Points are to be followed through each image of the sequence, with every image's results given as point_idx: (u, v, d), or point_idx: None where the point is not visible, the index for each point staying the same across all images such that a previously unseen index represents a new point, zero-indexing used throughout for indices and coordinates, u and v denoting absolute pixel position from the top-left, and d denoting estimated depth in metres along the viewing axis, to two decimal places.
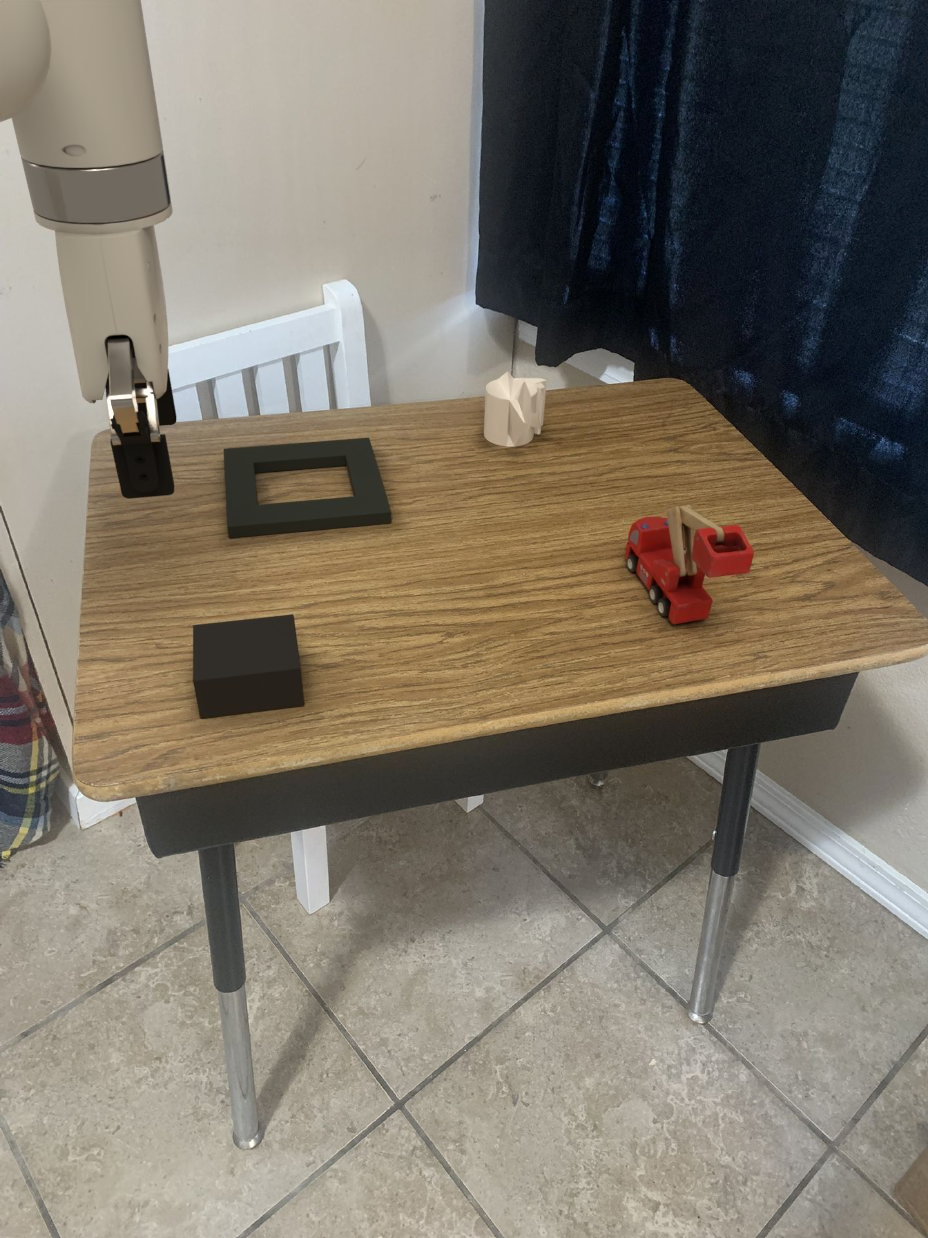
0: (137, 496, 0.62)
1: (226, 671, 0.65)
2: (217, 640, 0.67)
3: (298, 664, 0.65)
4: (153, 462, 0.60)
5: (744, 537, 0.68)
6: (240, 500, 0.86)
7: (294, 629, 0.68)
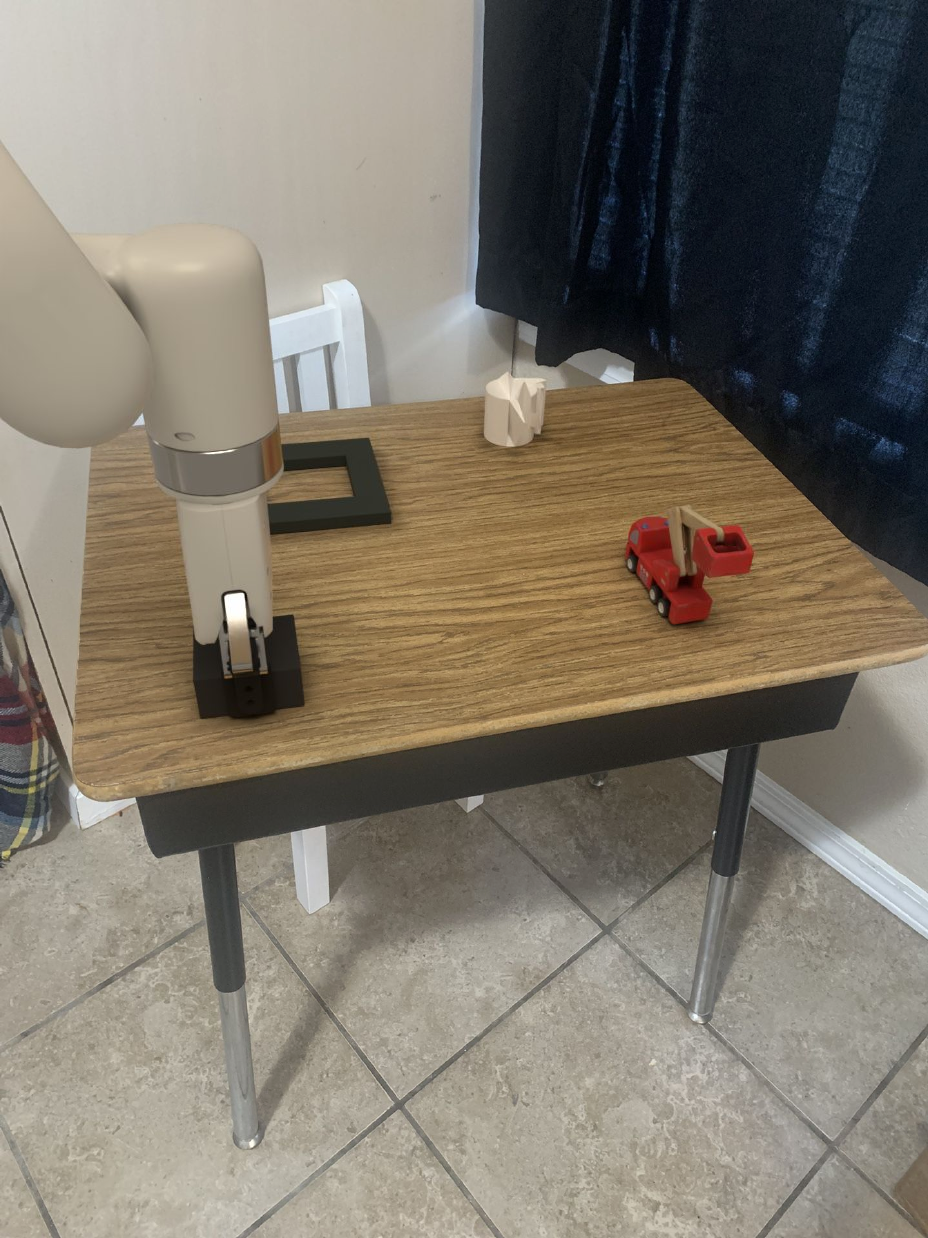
0: (241, 715, 0.66)
1: None
2: (217, 640, 0.67)
3: (298, 664, 0.65)
4: (260, 690, 0.64)
5: (744, 537, 0.68)
6: None
7: (294, 629, 0.68)
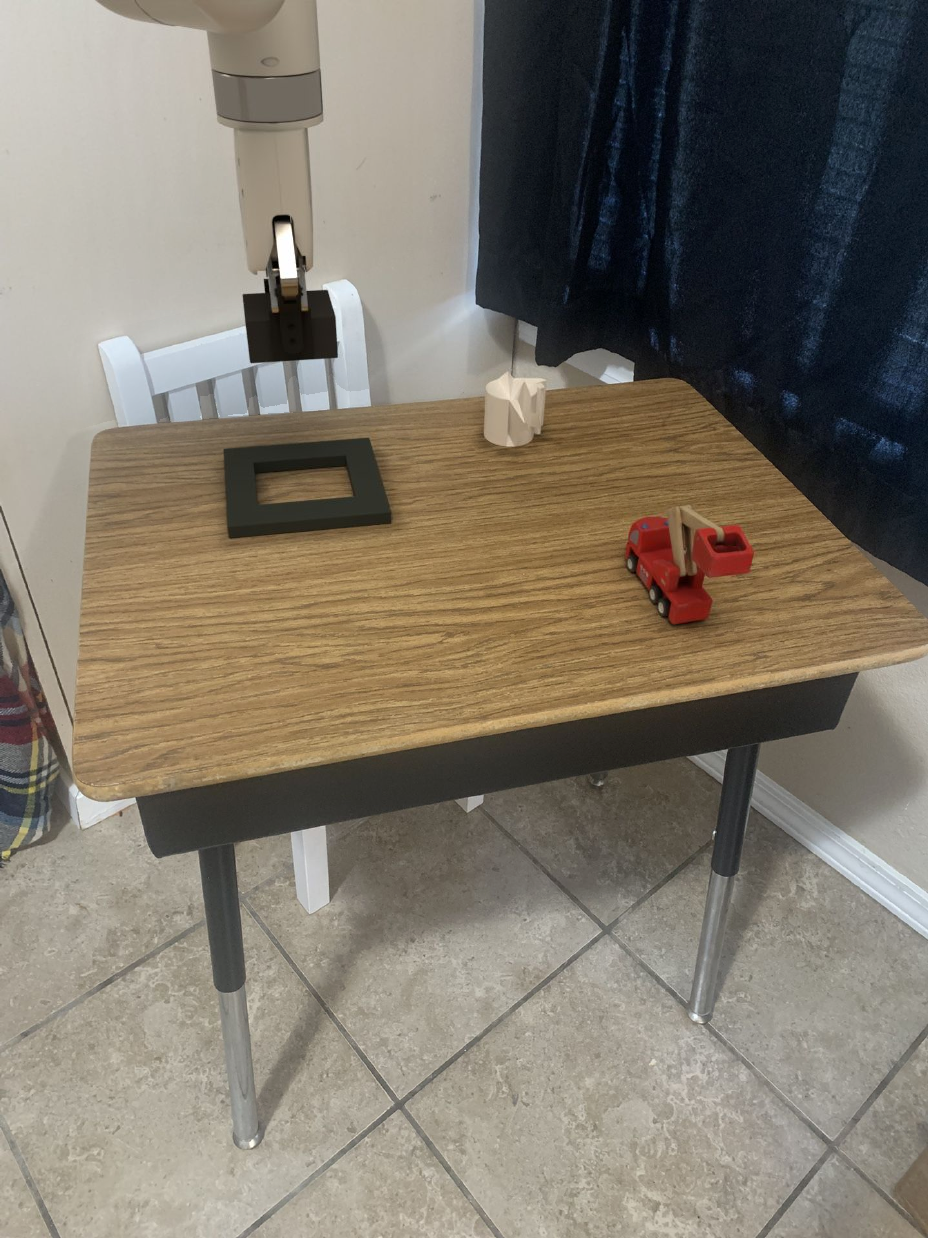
0: (284, 359, 0.77)
1: None
2: (264, 301, 0.79)
3: (333, 314, 0.77)
4: (301, 328, 0.75)
5: (744, 537, 0.68)
6: (240, 500, 0.86)
7: (329, 297, 0.80)
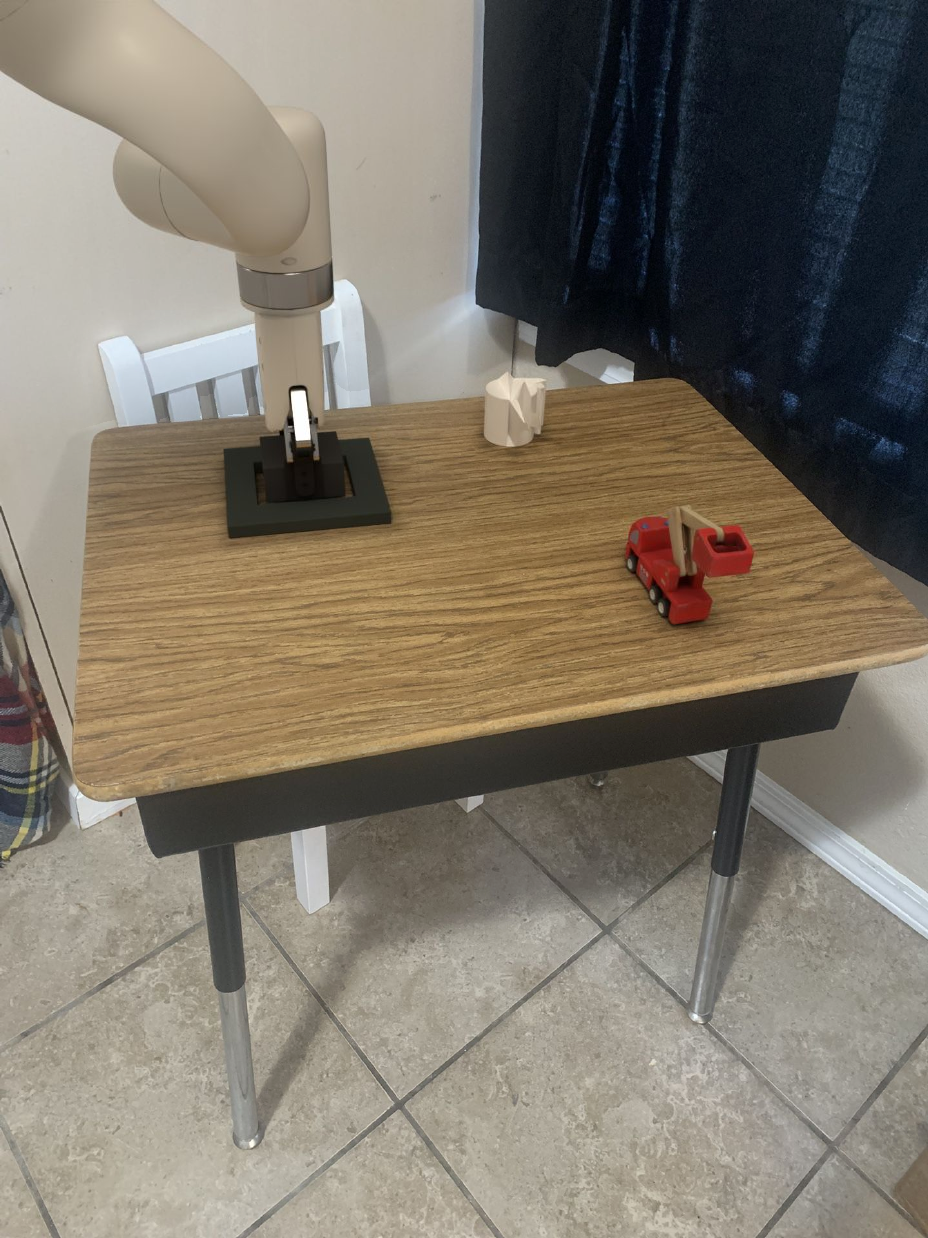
0: (297, 499, 0.86)
1: None
2: (279, 445, 0.88)
3: (342, 460, 0.86)
4: (312, 475, 0.84)
5: (744, 537, 0.68)
6: (240, 500, 0.86)
7: (337, 439, 0.89)
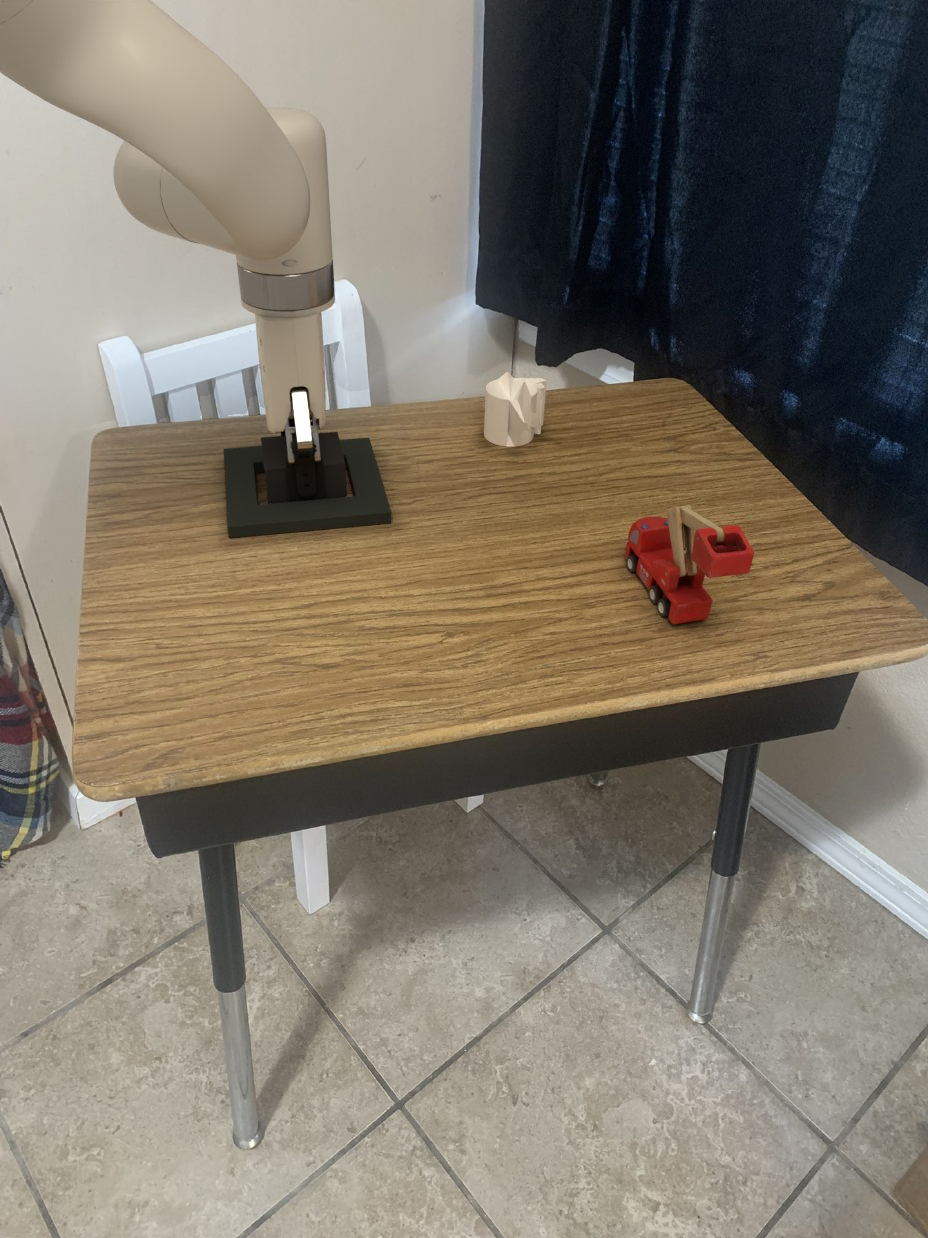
0: (299, 500, 0.86)
1: None
2: (280, 446, 0.88)
3: (343, 460, 0.86)
4: (314, 476, 0.84)
5: (744, 537, 0.68)
6: (240, 500, 0.86)
7: (338, 440, 0.89)
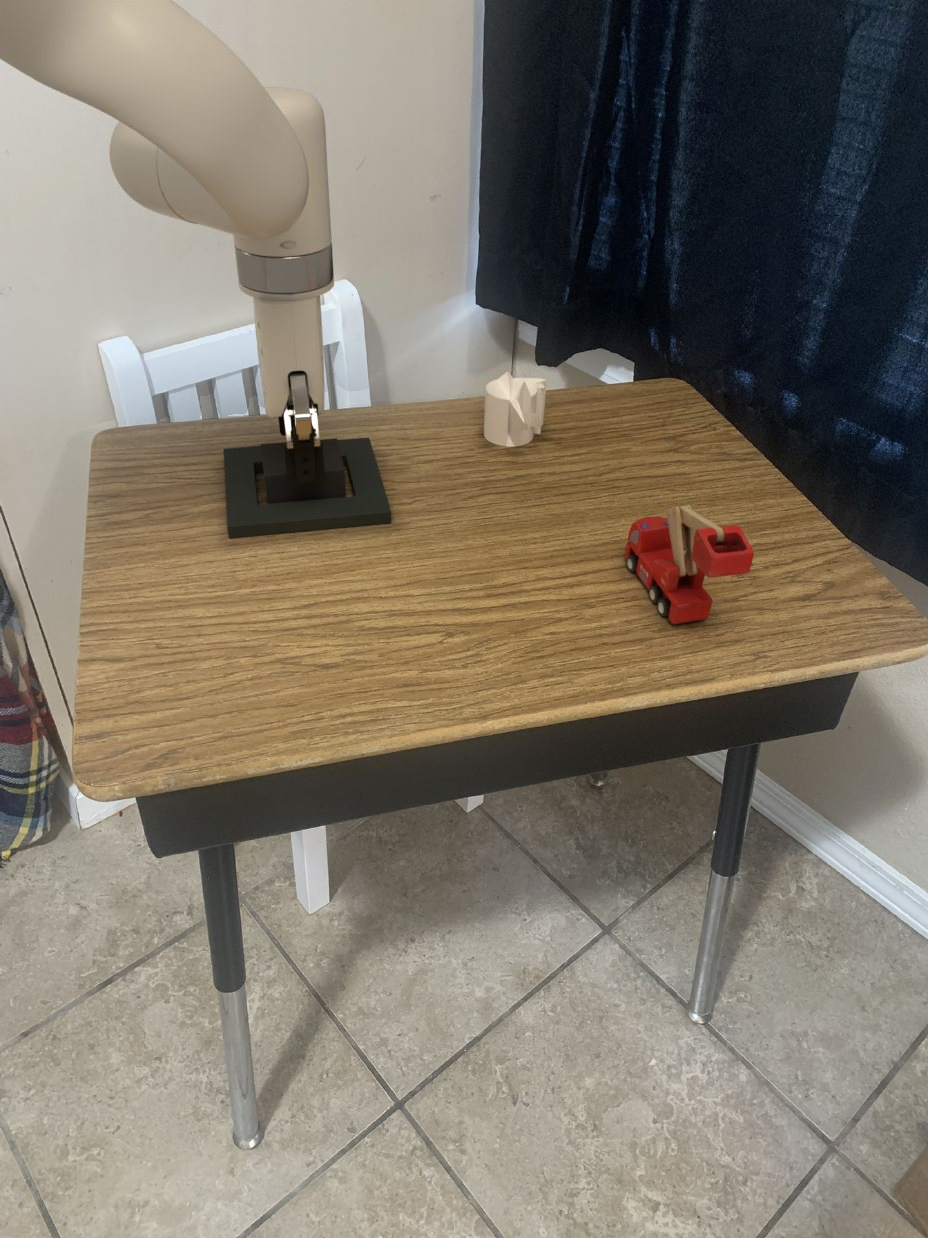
0: (298, 487, 0.84)
1: None
2: (280, 452, 0.88)
3: (342, 467, 0.86)
4: (313, 461, 0.82)
5: (744, 537, 0.68)
6: (240, 500, 0.86)
7: (338, 447, 0.89)
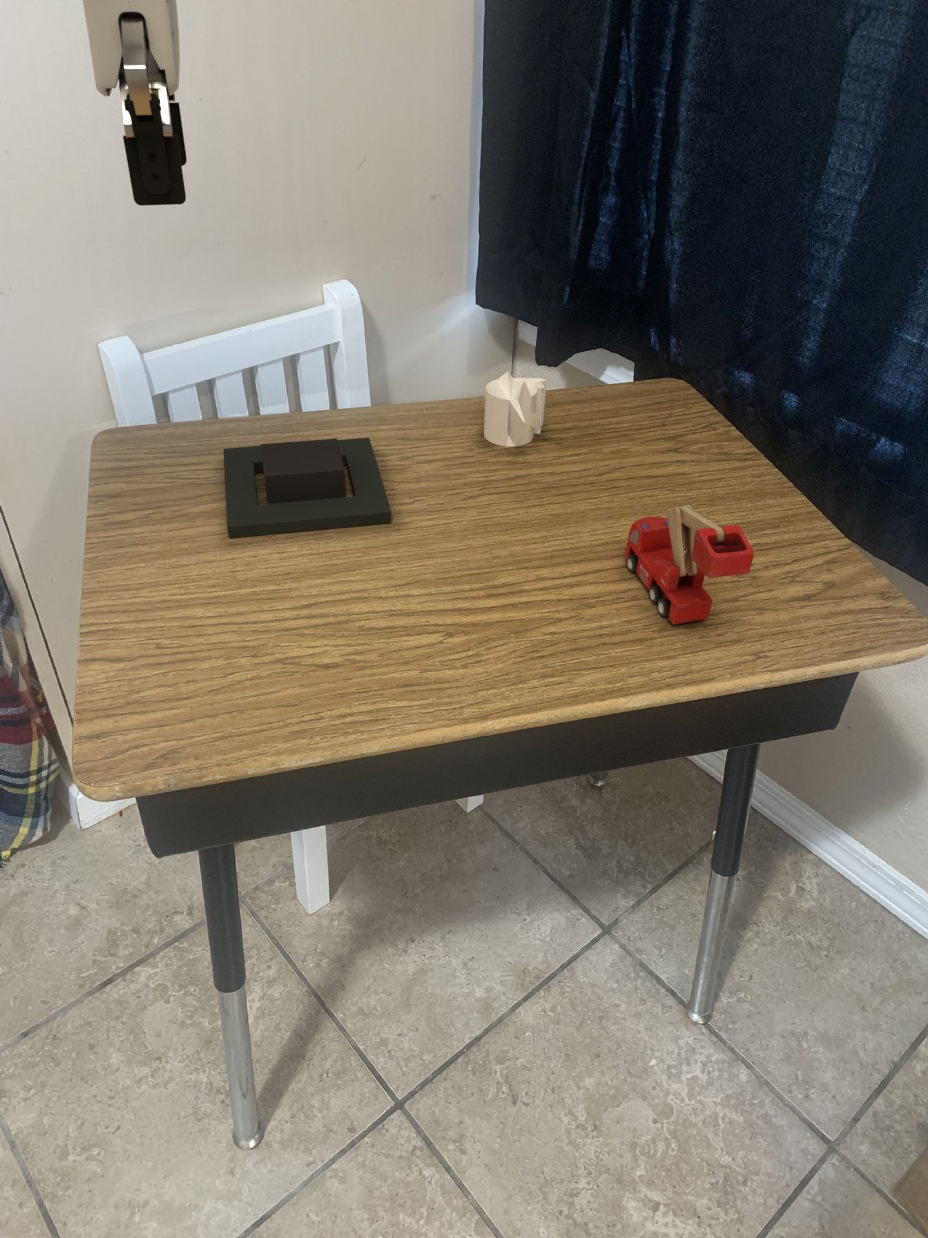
0: (148, 203, 0.62)
1: (288, 470, 0.86)
2: (280, 452, 0.88)
3: (342, 467, 0.86)
4: (165, 160, 0.60)
5: (744, 537, 0.68)
6: (240, 500, 0.86)
7: (338, 447, 0.89)
